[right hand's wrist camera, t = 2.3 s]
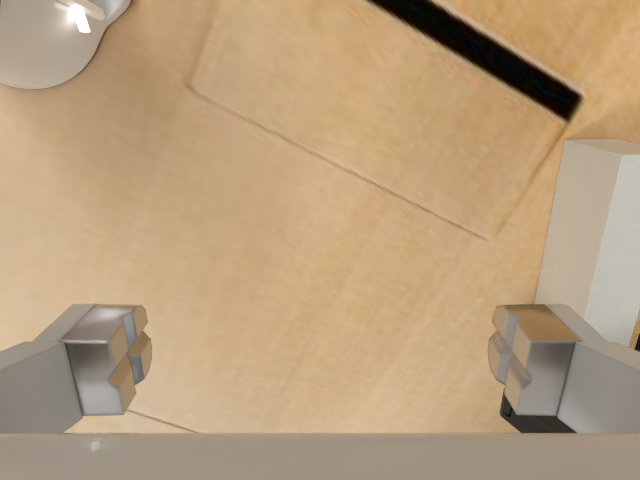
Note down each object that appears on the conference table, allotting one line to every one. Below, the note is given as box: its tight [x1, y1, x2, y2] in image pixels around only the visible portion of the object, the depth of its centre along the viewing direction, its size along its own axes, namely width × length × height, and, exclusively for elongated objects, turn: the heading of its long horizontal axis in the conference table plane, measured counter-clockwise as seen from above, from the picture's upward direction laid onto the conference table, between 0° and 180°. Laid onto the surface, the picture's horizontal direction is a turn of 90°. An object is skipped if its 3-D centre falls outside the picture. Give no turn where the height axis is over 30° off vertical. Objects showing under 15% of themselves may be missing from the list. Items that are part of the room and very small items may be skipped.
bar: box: [534, 139, 640, 347], centre depth 40 cm, size 24×5×8 cm, turn 1°
